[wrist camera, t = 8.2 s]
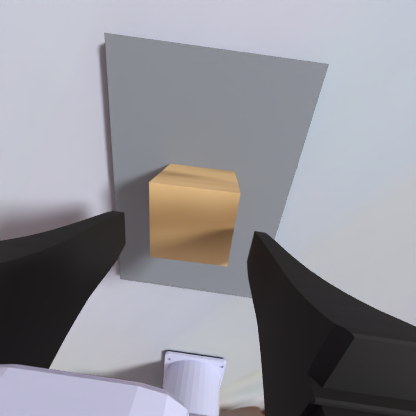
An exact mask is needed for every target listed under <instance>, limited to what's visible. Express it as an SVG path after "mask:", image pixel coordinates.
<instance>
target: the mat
mask: <svg viewBox="0 0 416 416" xmlns="http://www.w3.org/2000/svg"><path fill="white" fill-rule="evenodd" d="M104 34H105V49H106V65H107V80H108V96H109V111H110V127H111V142H112V158H113V173H114V189H115V204H116V211H118V212H124V214H125V237H126V244H125V246H124V248H123V250H122V252H121V254H120V256H119V267H120V279H124V280H131V281H138V282H145V283H152V284H159V285H165V286H172V287H179V288H186V289H193V290H200V291H207V292H214V293H221V294H228V295H235V296H242V297H249V298H252V294H251V290H250V285H249V280H248V272H247V258H248V255H249V251H250V247H251V243H252V239H253V235H254V231H258V232H265V233H267V234H268V235H269V236H270V237H272V238H273V239H275V236H276V233H277V229H278V226H279V223H280V220H281V217H282V213H283V210H284V207H285V204H286V200H287V197H288V194H289V191H290V187H291V184H292V181H293V178H294V175H295V171H296V168H297V165H298V162H299V158H300V155H301V152H302V149H303V146H304V142H305V139H306V136H307V133H308V129H309V126H310V123H311V120H312V116H313V113H314V110H315V107H316V104H317V100H318V97H319V94H320V91H321V87H322V84H323V81H324V78H325V75H326V71H327V68H328V65H329V64H324V63H317V62H310V61H302V60H295V59H288V58H281V57H274V56H267V55H259V54H252V53H245V52H238V51H231V50H223V49H216V48H209V47H202V46H195V45H188V44H180V43H173V42H166V41H159V40H152V39H145V38H137V37H130V36H123V35H116V34H109V33H104ZM170 164H176V165H185V166H193V167H202V168H210V169H218V170H227V171H235V174H236V178H237V181H238V185H239V189H240V193H241V194H240V199H239V205H238V210H237V216H236V221H235V227H234V232H233V238H232V243H231V249H230V254H229V260H228V265H227V266H219V265H212V264H204V263H196V262H188V261H180V260H172V259H164V258H156V257H150V212H149V182H150V181H151V180H152V179H153V178H155V177H156V176H157V175H158V174H159V173H160V172H161V171H163V170H164V169H165V168H166V167H167V166H168V165H170Z"/></svg>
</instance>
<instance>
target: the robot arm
mask: <svg viewBox="0 0 416 416" xmlns="http://www.w3.org/2000/svg"><path fill="white" fill-rule="evenodd" d="M125 244H126V237H125V214H124V212H118V211H111V212H107V213H103V214H100V215H97V216H94V217H91V218H89V219H86V220H83V221H80V222H77V223H74V224H70V225H67V226H64V227H61V228H57V229H54V230H50V231H47V232H43V233H39V234H34V235H30V236H25V237H20V238H15V239H9V240H4V241H0V416H219V389H220V385H221V381H222V378H223V374H224V371H225V367H226V360H224V359H219V358H213V357H206V356H199V355H192V354H185V353H178V352H171V351H167V352H166V353H165V361H164V376H163V389H161V388H158V387H154V386H151V385H148V384H144V383H141V382H135V381H128V380H121V379H114V378H107V377H100V376H94V375H87V374H80V373H73V372H66V371H59V370H53V369H49V367H50V365H51V363H52V362H53V360H54V358H55V356H56V354H57V352H58V350H59V348H60V347H61V345H62V343H63V341H64V339H65V337H66V336H67V334H68V332H69V330H70V328H71V327H72V325H73V323H74V321H75V320H76V318H77V316H78V315H79V313H80V311H81V310H82V308H83V306H84V305H85V303H86V301H87V300H88V298H89V297H90V295H91V294H92V293H93V291H94V290H95V289H96V287H97V286H98V285H99V283H100V282H101V281H102V279H103V278H104V277H105V275H106V274H107V273H108V271H109V270H110V269H111V267H112V266H113V265H114V263H115V262H116V260H117V259H118V257H119V256H120V254H121V252H122V250H123V248H124V246H125ZM247 272H248V280H249V285H250V290H251V294H252V299H253V304H254V308H255V313H256V318H257V324H258V333H259V342H260V352H261V363H262V375H263V389H264V404H265V416H416V327H415V326H413V325H411V324H409V323H406V322H404V321H402V320H400V319H397V318H395V317H393V316H391V315H388V314H386V313H384V312H381V311H379V310H377V309H375V308H373V307H371V306H369V305H367V304H365V303H363V302H361V301H359V300H357V299H356V298H354V297H352V296H350V295H348V294H346V293H345V292H343V291H341V290H340V289H338V288H336V287H335V286H333V285H331V284H330V283H328V282H326V281H325V280H323V279H322V278H320V277H319V276H317V275H316V274H315V273H313V272H312V271H310V270H309V269H308V268H306V267H305V266H304V265H302V264H301V263H300V262H299V261H297V260H296V259H295V258H294V257H293V256H291V255H290V254H289V253H288V252H287V251H286V250H285V249H283V248H282V247H281V246H280V245H279V244H278V243H277V242H276V241H275V240H274V239H273V238H272V237H270V236H269V235H268V234H267V233H265V232H258V231H254V235H253V239H252V243H251V247H250V251H249V255H248V258H247Z"/></svg>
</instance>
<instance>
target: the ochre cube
mask: <svg viewBox="0 0 416 416" xmlns="http://www.w3.org/2000/svg"><path fill="white" fill-rule="evenodd" d="M240 194H241V193H240V189H239V185H238V181H237V178H236V174H235V171H227V170H218V169H210V168H202V167H193V166H185V165H176V164H170V165H168V166H167V167H166V168H165V169H164V170H163V171H161V172H160V173H159V174H158V175H157V176H156V177H155V178H153V179H152V180H151V181H150V182H149V212H150V257H156V258H164V259H172V260H180V261H188V262H196V263H204V264H212V265H219V266H227V265H228V260H229V254H230V249H231V243H232V238H233V232H234V227H235V221H236V216H237V210H238V205H239V199H240Z"/></svg>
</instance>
